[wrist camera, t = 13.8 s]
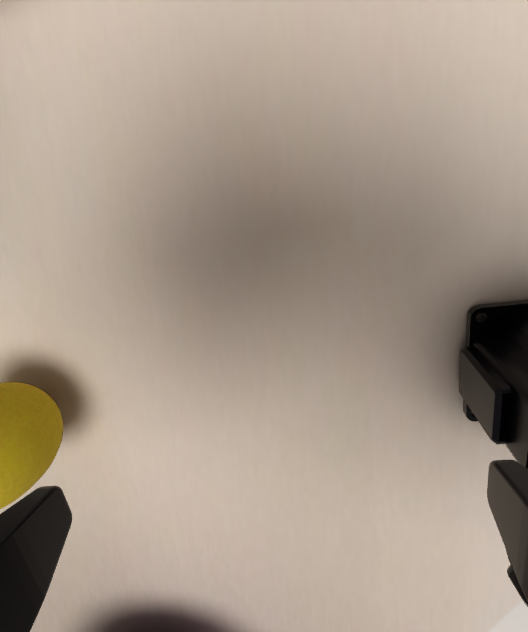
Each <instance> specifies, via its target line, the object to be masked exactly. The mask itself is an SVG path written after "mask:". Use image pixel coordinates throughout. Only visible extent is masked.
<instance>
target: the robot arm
mask: <svg viewBox="0 0 528 632" xmlns="http://www.w3.org/2000/svg"><path fill="white" fill-rule="evenodd" d="M479 313H484V314H483V317H482V318H481V319H476V316H477V315H478V314H479ZM459 392H460V394H461V396H462V397H463V399H464V407H463V410H464V413H465V415H466V417H467V418H468V419H469V420H471V421H479V423H480V424H481V426H482V427H483V429H484V430H485V432H486V433H487V435H488V436H489V438H490V439H491V440H492V441H493V442H494V443H496V444H505V445H506V446H507V447H508V449H509V450H510V452H511V453H512V455H513V456H514V457H515V459H516V460H517V462H516V461H514V460H496V461H492V462H491V463H490V465H489V474H488V488H487V497H488V502H489V506H490V508H491V511H492V514H493V516H494V519H495V521H496V524H497V527H498V529H499V532H500V535H501V537H502V540H503V542H504V545H505V548H506V551H507V555H508V559H509V561H510V563H511V565H510V566H509V567H508V570H507V573H508V576H509V578H510V580H511V581H512V583H513V585H514V586H515V588H516V590H517V591H518V593H519V595H520V596H521V598H522V599H523V601H524V603H525V604H526V605H527V607H528V300H523V301H513V302H503V303H493V304H483V305H477V306H474V307H472V308H471V309H470V310H469V312H468V315H467V335H466V346H465V347H464V348H463V349H462V350H461V355H460V382H459ZM471 412H473V413H471ZM71 522H72V513H71V510H70V508H69V505H68V503H67V501H66V498H65V496H64V493H63V491H62V489H61V488H60V487H58V486H44V487H40V488H37V489H36V490H34V491H33V492H32V493H30V494H29V495H27V496H26V497H24V498H23V499H21V500H20V501H19V502H17V503H16V504H14V505H13V506H11V507H10V508H8V509H7V510H6V511H4V512H3V513H1V514H0V632H30V630H31V628H32V626H33V623H34V621H35V619H36V617H37V615H38V612H39V610H40V608H41V606H42V603H43V601H44V599H45V596H46V593H47V591H48V588H49V586H50V583H51V580H52V577H53V574H54V571H55V569H56V566H57V563H58V560H59V557H60V555H61V552H62V549H63V546H64V543H65V541H66V538H67V535H68V532H69V529H70V526H71Z"/></svg>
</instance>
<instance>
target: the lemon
mask: <svg viewBox="0 0 528 632" xmlns="http://www.w3.org/2000/svg"><path fill="white" fill-rule="evenodd" d="M62 435H63V421H62V417H61V413H60V410H59V408H58V406H57V404H56V403H55V402H54V401H53V399H52V398H51V397H50V396H49V395H48V394H46V393H45V392H44V391H42V390H40V389H39V388H37V387H35V386H32V385H28V384H25V383H17V382H4V383H0V509H1V508H3V507H5V506H7V505H8V504H10V503H12V502H13V501H15V500H16V499H18V498H19V497H20V496H22V495H23V494H24V493H25V492H26V491H28V490H29V489H30V488H31V487H32V486H33V485H34V484H35V483H36V482H37V481H38V480H39V479H40V478H41V477H42V475H43V474H44V473H45V472H46V471H47V469H48V468H49V467H50V465H51V463H52V462H53V460H54V458H55V456H56V454H57V451H58V449H59V447H60V444H61V441H62Z"/></svg>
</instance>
